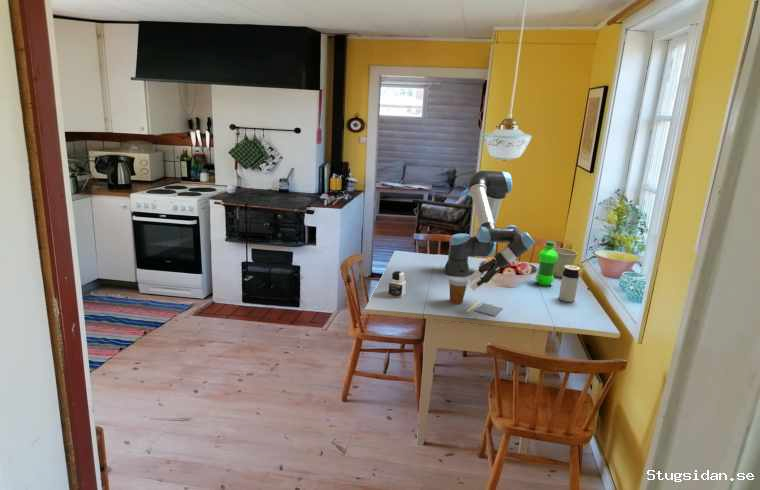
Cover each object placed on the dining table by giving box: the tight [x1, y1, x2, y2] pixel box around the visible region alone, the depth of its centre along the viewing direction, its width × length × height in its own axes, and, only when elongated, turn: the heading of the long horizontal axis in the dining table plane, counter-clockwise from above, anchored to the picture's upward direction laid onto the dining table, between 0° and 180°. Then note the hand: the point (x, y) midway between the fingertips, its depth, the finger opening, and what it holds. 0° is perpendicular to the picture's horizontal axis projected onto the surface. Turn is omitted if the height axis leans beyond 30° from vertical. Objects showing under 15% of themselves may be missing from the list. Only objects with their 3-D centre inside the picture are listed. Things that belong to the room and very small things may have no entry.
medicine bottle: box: [387, 271, 407, 299], centre depth 245 cm, size 7×7×12 cm
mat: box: [474, 302, 504, 317], centre depth 234 cm, size 10×12×1 cm
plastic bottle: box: [535, 241, 558, 287], centre depth 275 cm, size 10×10×25 cm
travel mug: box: [558, 265, 581, 303], centre depth 254 cm, size 8×8×18 cm
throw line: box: [465, 301, 481, 313], centre depth 237 cm, size 1×16×1 cm, turn 149°
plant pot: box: [553, 247, 578, 278], centre depth 295 cm, size 15×15×16 cm
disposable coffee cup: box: [448, 276, 469, 305], centre depth 241 cm, size 10×10×12 cm
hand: (470, 284), depth 238 cm, fingers open, 13 cm apart
